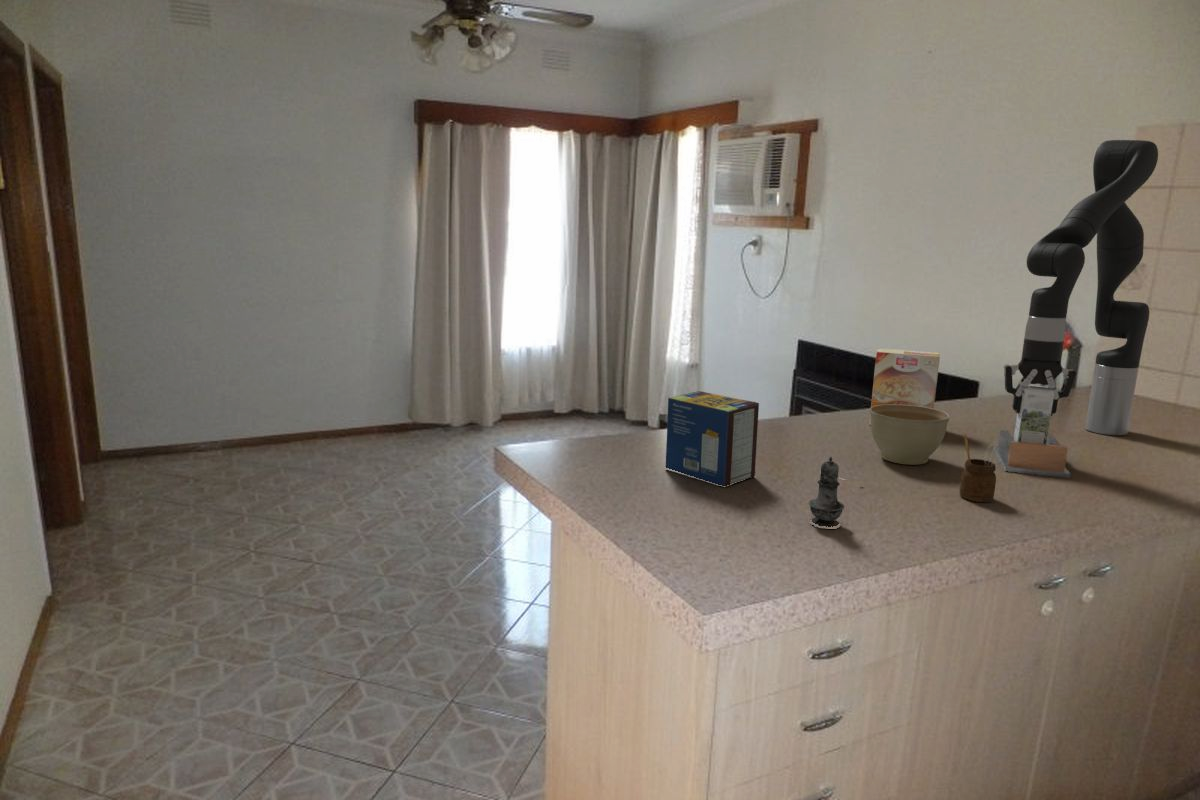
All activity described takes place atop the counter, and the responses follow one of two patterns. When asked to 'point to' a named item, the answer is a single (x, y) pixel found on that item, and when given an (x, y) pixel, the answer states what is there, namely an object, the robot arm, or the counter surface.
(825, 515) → the salt shaker
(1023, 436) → the syrup box
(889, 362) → the coffeecake box
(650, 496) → the counter surface
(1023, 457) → the guide bracket
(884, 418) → the planter bowl
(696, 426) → the protein box
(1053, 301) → the robot arm
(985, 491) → the utensil holder
